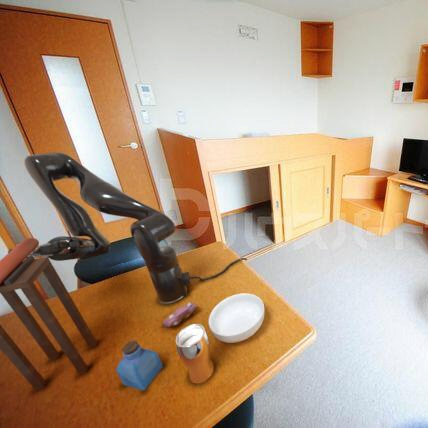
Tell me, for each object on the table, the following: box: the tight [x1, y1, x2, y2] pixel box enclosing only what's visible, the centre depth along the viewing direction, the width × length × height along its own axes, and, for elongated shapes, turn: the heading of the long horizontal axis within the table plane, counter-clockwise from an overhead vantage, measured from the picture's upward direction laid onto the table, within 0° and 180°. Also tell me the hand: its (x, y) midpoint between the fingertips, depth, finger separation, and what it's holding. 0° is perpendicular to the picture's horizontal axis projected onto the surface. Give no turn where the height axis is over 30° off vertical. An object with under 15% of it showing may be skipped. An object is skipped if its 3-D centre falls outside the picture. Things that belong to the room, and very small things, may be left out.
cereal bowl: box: [208, 292, 265, 344], centre depth 77 cm, size 17×17×7 cm
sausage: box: [0, 237, 40, 284], centre depth 54 cm, size 21×3×3 cm, turn 27°
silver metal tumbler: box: [175, 323, 215, 384], centre depth 62 cm, size 7×7×15 cm
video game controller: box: [162, 302, 198, 328], centre depth 80 cm, size 10×5×7 cm, turn 148°
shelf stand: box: [0, 256, 98, 391], centre depth 60 cm, size 10×10×33 cm
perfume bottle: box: [115, 340, 164, 391], centre depth 62 cm, size 6×6×12 cm
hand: (34, 249), depth 63 cm, fingers open, 8 cm apart
